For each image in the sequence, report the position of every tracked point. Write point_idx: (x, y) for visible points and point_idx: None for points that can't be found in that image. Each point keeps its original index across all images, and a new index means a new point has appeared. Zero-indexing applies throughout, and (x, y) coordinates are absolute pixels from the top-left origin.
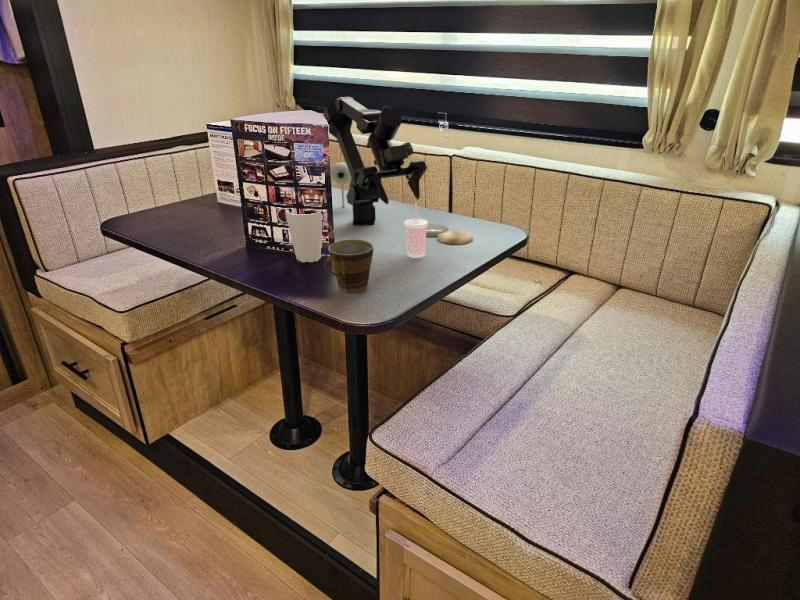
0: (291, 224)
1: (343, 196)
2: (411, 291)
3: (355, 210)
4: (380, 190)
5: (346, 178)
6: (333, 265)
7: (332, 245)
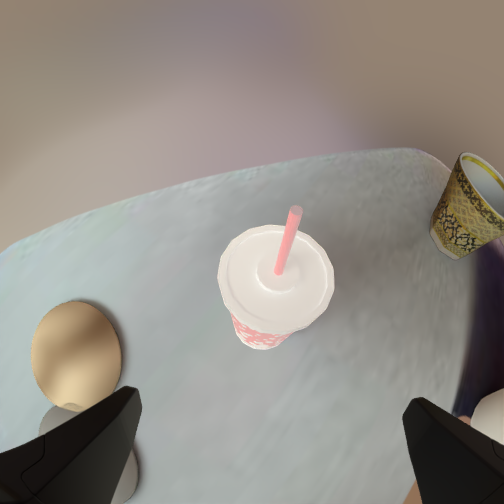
0: None
1: None
2: (366, 174)
3: None
4: (493, 439)
5: None
6: (496, 211)
7: None
